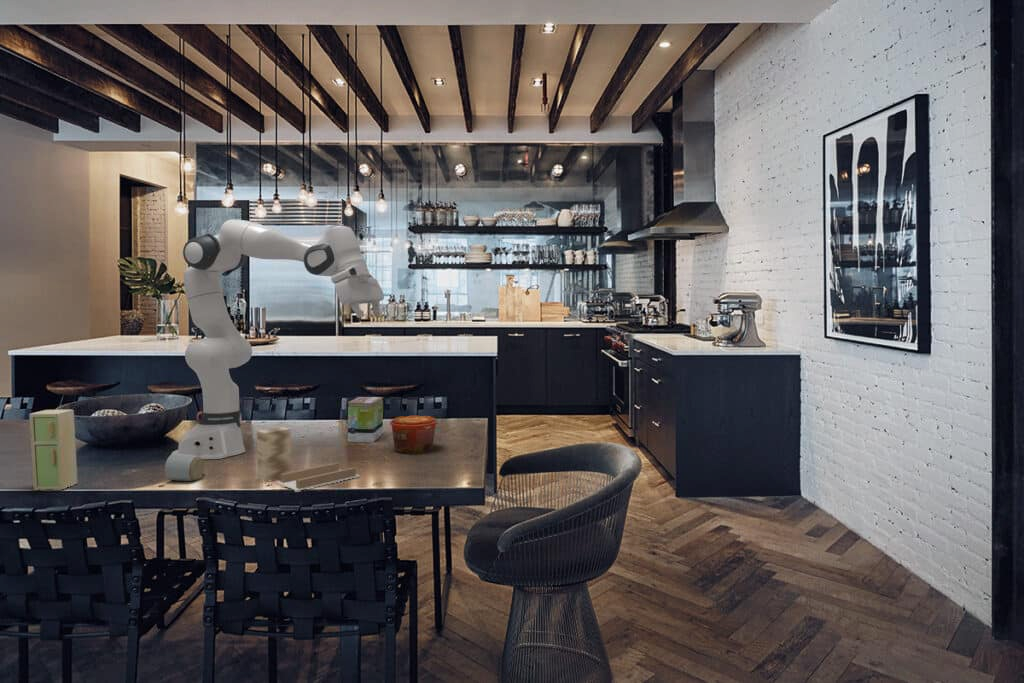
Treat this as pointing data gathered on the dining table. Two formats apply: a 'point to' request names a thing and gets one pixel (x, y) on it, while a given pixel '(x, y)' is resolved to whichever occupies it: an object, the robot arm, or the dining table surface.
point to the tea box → (365, 419)
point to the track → (316, 476)
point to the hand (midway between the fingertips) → (369, 316)
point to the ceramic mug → (184, 467)
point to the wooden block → (273, 453)
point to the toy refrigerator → (53, 449)
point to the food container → (413, 434)
